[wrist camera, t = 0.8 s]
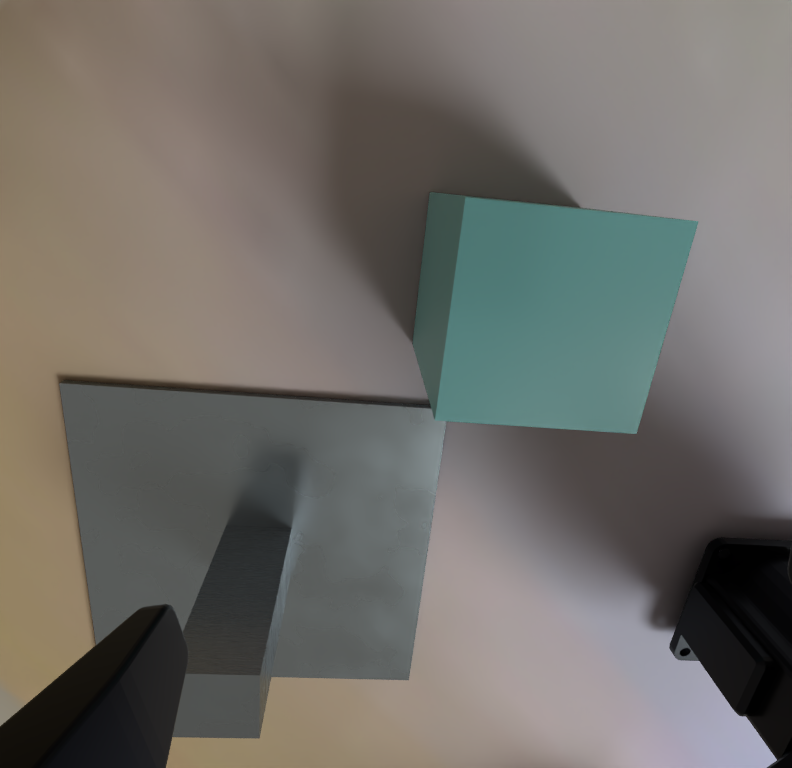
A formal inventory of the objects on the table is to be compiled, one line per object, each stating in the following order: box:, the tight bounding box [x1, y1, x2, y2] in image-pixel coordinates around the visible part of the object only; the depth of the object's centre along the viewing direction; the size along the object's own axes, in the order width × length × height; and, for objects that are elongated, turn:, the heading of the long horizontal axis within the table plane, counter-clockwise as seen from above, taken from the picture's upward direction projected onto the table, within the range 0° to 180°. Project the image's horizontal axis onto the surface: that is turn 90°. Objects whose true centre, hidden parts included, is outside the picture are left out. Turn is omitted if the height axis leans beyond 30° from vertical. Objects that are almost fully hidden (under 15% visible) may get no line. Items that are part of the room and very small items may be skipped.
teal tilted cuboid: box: [412, 192, 698, 434], centre depth 15 cm, size 5×5×7 cm
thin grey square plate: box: [59, 380, 446, 738], centre depth 19 cm, size 14×14×7 cm
